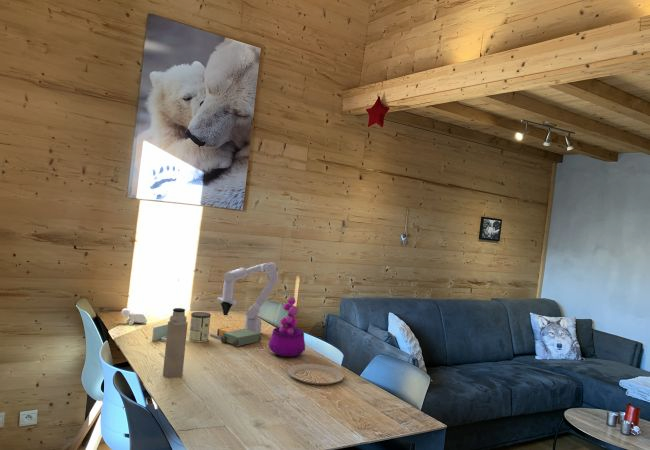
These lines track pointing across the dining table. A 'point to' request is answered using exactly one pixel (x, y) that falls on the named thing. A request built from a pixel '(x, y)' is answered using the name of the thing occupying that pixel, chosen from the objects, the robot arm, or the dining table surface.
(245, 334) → the grey-green flat box
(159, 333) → the right angle wall
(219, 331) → the orange and grey block
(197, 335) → the coffee can
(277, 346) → the decorative plant
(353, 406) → the dining table surface
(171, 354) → the thermos bottle
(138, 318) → the white lumpy figure
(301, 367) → the plate
